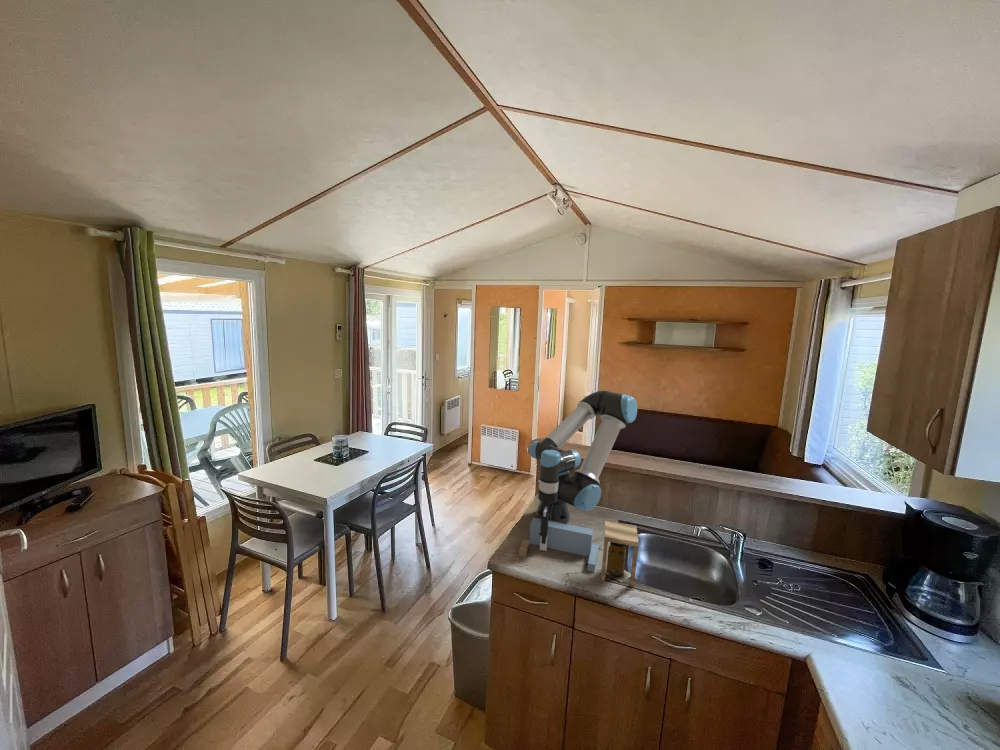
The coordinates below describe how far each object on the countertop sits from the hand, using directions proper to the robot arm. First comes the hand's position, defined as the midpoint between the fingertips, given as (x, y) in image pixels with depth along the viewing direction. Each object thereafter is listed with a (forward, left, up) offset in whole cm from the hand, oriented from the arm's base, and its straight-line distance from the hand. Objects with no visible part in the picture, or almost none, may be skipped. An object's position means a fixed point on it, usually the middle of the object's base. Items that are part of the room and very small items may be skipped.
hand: (544, 544), depth 164 cm
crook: (+4, +7, 0) cm, 8 cm away
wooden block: (+7, -7, 0) cm, 10 cm away
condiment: (+9, +28, -1) cm, 29 cm away
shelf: (+10, +28, 0) cm, 29 cm away
